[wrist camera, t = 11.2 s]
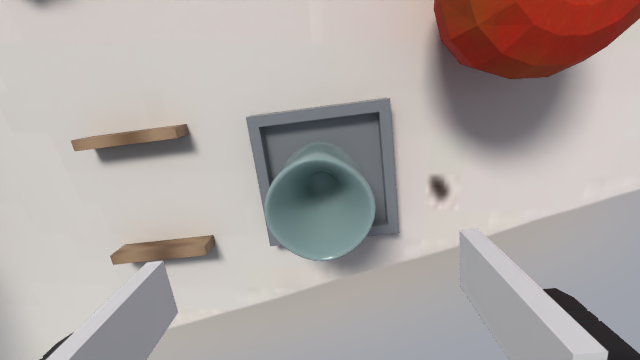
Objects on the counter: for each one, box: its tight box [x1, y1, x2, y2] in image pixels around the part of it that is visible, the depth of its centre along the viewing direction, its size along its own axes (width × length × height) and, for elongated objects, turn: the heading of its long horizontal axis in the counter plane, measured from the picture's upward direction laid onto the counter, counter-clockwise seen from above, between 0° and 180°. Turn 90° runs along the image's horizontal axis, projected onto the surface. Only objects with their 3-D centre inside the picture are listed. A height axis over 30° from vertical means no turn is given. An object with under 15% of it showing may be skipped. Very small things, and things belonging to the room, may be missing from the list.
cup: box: [265, 142, 376, 261], centre depth 27 cm, size 8×8×10 cm
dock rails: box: [71, 124, 215, 265], centre depth 32 cm, size 10×13×2 cm
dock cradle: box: [246, 98, 399, 246], centre depth 32 cm, size 13×13×2 cm
